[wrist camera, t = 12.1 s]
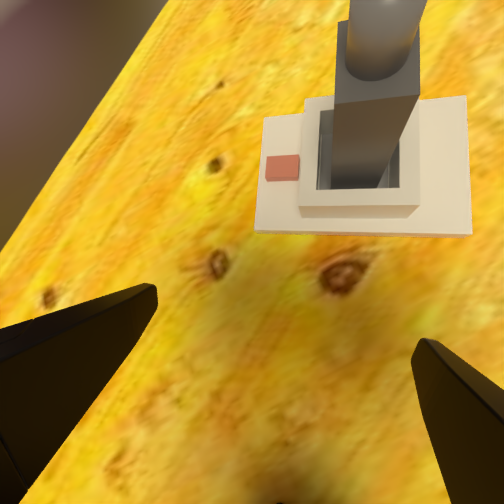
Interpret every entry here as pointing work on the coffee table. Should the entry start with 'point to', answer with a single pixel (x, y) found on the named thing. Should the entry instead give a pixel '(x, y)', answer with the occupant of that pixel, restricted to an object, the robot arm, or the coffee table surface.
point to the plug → (373, 88)
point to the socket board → (367, 200)
